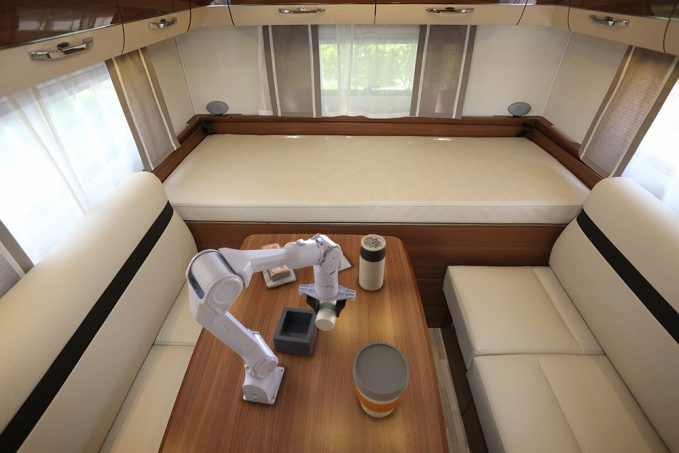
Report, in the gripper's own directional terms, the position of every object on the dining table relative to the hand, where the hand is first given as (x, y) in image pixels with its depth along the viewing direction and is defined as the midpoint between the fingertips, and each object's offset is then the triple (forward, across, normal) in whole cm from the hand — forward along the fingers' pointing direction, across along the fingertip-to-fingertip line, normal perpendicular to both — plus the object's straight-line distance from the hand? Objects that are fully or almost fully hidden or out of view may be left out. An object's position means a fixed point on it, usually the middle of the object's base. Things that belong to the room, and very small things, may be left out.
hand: (328, 313), depth 90 cm
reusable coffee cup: (+10, -15, +16) cm, 24 cm away
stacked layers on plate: (+10, +4, -30) cm, 32 cm away
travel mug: (+10, -10, -22) cm, 27 cm away
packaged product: (+10, +24, -24) cm, 36 cm away
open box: (+10, +9, +2) cm, 14 cm away
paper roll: (-1, 0, 0) cm, 1 cm away
